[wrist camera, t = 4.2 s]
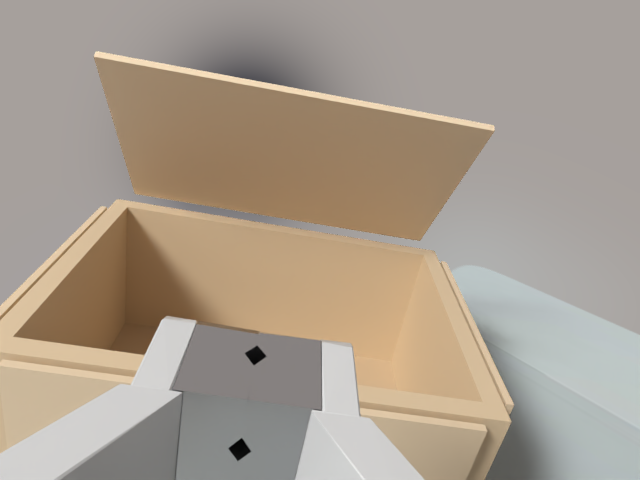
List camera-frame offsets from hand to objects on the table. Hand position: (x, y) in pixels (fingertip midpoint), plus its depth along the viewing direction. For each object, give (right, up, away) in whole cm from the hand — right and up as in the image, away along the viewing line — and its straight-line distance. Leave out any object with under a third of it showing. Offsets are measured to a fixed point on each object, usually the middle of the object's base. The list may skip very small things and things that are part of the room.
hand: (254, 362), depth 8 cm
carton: (-3, -7, +18) cm, 19 cm away
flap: (-1, +3, +20) cm, 21 cm away
